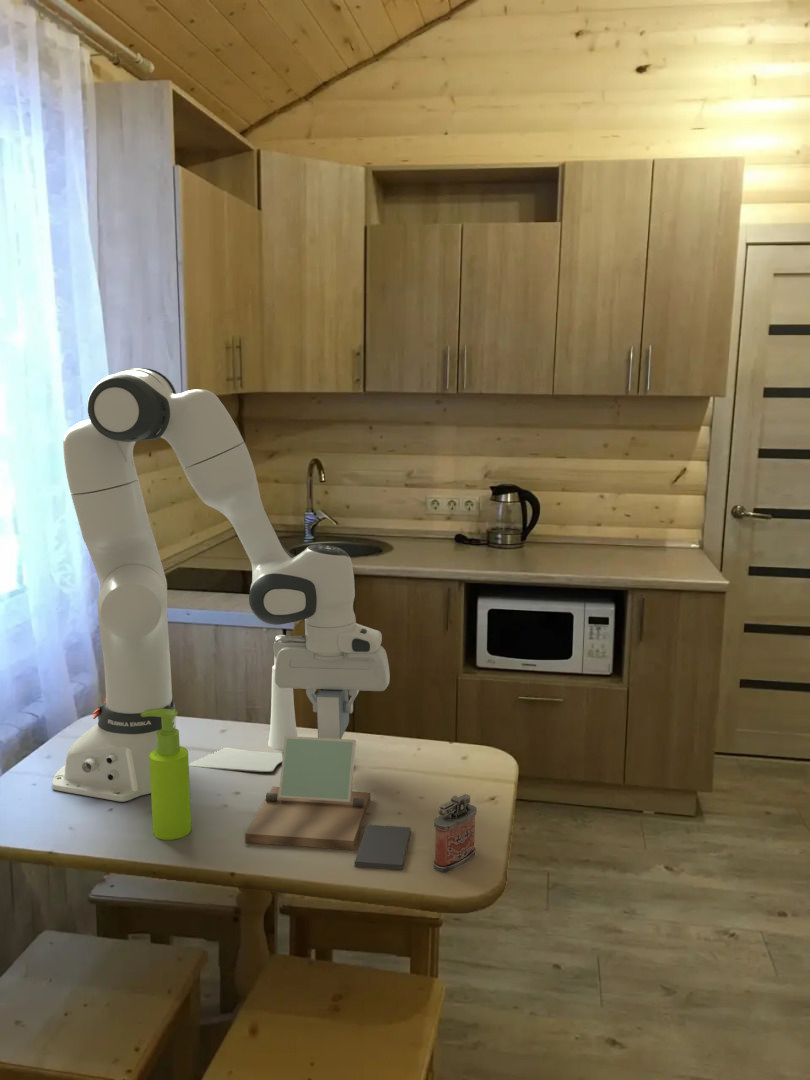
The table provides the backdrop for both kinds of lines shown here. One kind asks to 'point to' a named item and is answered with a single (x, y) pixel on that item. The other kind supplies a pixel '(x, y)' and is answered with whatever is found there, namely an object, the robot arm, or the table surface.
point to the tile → (317, 769)
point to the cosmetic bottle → (281, 713)
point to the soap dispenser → (169, 780)
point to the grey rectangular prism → (331, 713)
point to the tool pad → (383, 847)
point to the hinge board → (308, 821)
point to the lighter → (454, 834)
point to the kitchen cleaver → (240, 760)
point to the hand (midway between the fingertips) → (333, 711)
